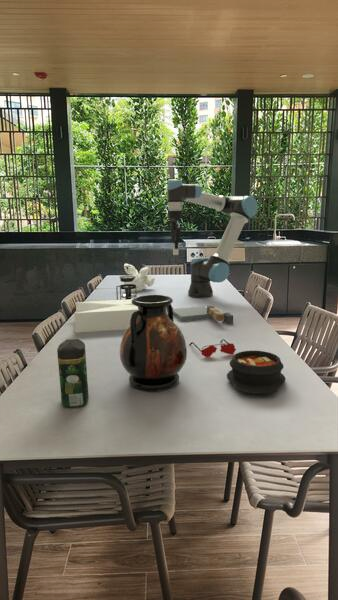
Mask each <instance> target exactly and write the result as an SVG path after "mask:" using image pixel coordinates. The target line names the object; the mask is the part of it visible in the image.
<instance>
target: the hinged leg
mask: <svg viewBox="0 0 338 600" xmlns="http://www.w3.org/2000/svg"><path fill="white" fill-rule="evenodd" d="M206 308H207V313H208V314H210V315H211V316H212V317H213V319H215V320H216V321H217V322H223V321H224V314H223V313H224V312H221V311H220V310H219V309H217V308H216V307H215V305H207V306H206Z"/></svg>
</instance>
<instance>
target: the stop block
mask: <svg viewBox="0 0 338 600" xmlns="http://www.w3.org/2000/svg"><path fill="white" fill-rule="evenodd" d="M222 313H223V314H224V321H222V322H223V323H224V324H226V325H234V315H233V314H232V313H230V312H222Z"/></svg>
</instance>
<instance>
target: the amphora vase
mask: <svg viewBox="0 0 338 600" xmlns="http://www.w3.org/2000/svg"><path fill="white" fill-rule="evenodd" d="M131 299H132V301H131V302H132V304H133V305H135V306H137V307H138V311H135V312H133V314H132V316H131V319H130V326H129V327H128V328H127V329H125V331H124V334H123V336H122V337H121V338H122V339H121V342H120V346H119V358H120V362H121V364H122V367H123V369H124V370H125V371H126V372H127V373H128V374H129V376H128V382H129V384H130V385H131V386H132V387H133V388H135V389H138V390H142V391H146V390H147V391H148V392H159V391H164V389H165V390H167V389H168V390H169V389H170V388H173V387H174V386H176V385H177V384H178V383H179V381H180V375H179V372H180V371H181V370H182V368H183V367H184V366H185V364H186V361H187V357H188V356H187V353H188V350H187V345H186V344H187V343H186V339H185V336H184V334H183V332H182V330H181V328H179V326H178V325H177V324H176V323H175V321H174V316H173V309H174V307H173V306H172V304H173V298H172V297H170V296H168V295H164V294H145V295H144V294H143V295H138V296H137V297H133V298H131ZM166 307H167V312H168V315H167V313H166ZM172 307H173V308H172ZM158 390H159V391H158Z"/></svg>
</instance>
